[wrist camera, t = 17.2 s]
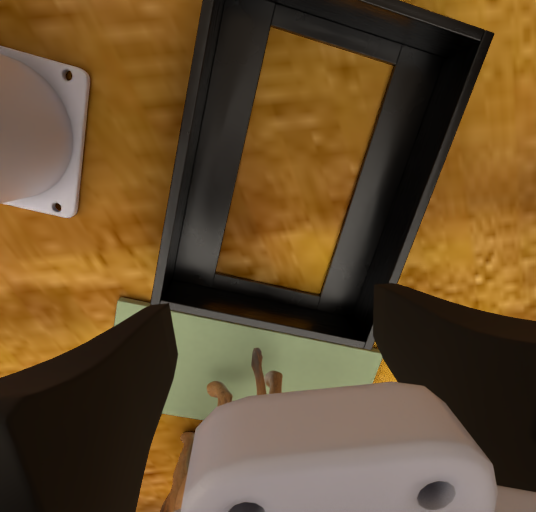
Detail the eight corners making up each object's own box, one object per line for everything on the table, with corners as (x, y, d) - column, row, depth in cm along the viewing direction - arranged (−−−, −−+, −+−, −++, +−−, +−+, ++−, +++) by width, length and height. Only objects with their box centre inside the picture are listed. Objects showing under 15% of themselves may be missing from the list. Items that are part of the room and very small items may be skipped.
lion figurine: (234, 473, 28) (221, 634, 20) (169, 462, 27) (130, 625, 19) (296, 349, 21) (313, 524, 13) (211, 329, 20) (174, 502, 12)
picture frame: (164, 283, 22) (149, 306, 19) (219, -25, 17) (213, -64, 14) (354, 323, 23) (371, 350, 20) (454, 52, 19) (495, 32, 16)
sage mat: (105, 398, 24) (102, 404, 24) (120, 296, 22) (117, 300, 21) (345, 437, 26) (348, 444, 26) (381, 349, 24) (384, 354, 24)
